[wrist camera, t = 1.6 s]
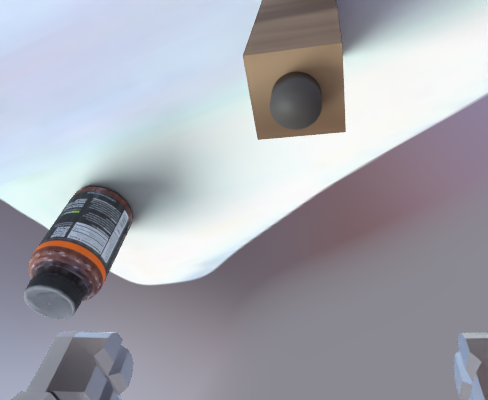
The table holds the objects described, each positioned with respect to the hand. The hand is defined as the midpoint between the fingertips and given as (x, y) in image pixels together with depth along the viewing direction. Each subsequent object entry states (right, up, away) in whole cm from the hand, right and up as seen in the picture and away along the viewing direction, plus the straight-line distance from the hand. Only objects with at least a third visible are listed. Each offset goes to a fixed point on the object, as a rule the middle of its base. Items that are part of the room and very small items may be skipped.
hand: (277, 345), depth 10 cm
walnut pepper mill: (+3, +15, +18) cm, 24 cm away
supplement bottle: (-14, +3, +31) cm, 34 cm away
